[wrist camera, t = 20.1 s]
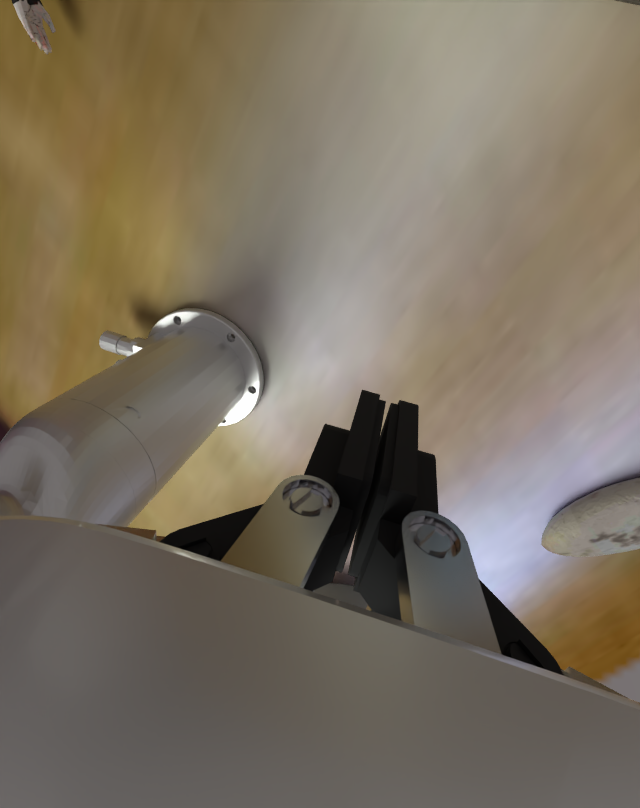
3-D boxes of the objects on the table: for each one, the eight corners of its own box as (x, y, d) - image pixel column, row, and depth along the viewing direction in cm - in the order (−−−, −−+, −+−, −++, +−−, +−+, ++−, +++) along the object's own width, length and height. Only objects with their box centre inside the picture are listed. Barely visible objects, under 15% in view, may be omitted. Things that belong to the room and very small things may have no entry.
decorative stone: (742, 490, 33) (771, 520, 30) (557, 551, 41) (566, 580, 38) (707, 439, 32) (734, 465, 29) (523, 512, 39) (529, 538, 36)
